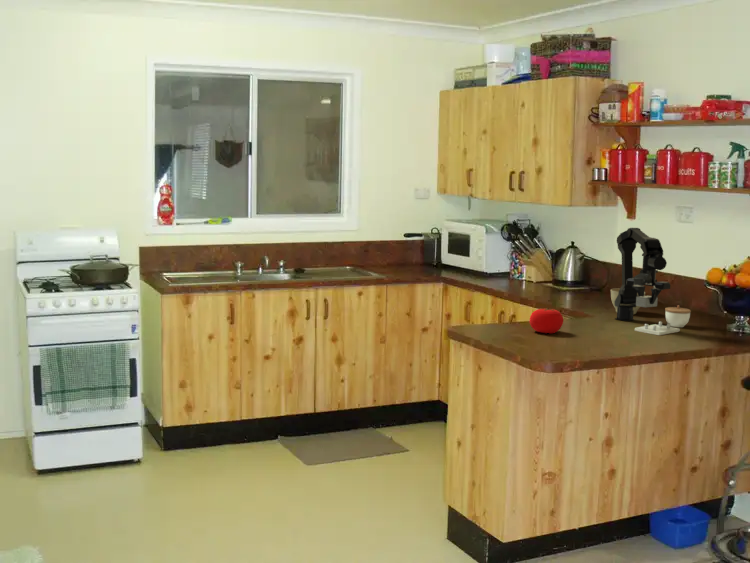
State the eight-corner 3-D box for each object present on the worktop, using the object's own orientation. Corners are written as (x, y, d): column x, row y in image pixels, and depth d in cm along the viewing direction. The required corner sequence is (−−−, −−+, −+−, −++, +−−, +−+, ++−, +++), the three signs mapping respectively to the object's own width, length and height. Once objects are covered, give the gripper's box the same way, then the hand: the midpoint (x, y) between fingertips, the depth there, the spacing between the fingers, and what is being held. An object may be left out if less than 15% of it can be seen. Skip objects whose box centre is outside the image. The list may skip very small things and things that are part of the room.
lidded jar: (673, 328, 403) (674, 307, 402) (659, 324, 413) (661, 303, 412) (694, 328, 406) (695, 307, 404) (680, 323, 416) (681, 303, 415)
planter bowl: (636, 317, 429) (637, 294, 428) (603, 312, 439) (605, 290, 437) (648, 313, 442) (650, 291, 441) (616, 308, 452) (618, 287, 450)
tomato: (536, 335, 375) (538, 310, 374) (523, 329, 388) (525, 305, 386) (568, 335, 379) (570, 310, 378) (554, 329, 392) (556, 305, 390)
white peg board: (634, 330, 395) (635, 323, 394) (655, 326, 405) (655, 319, 405) (659, 335, 386) (659, 327, 385) (679, 331, 396) (680, 324, 396)
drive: (635, 305, 397) (636, 296, 397) (647, 304, 402) (648, 295, 401) (645, 307, 393) (645, 297, 393) (657, 306, 398) (657, 296, 397)
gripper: (620, 266, 398) (617, 301, 399) (657, 270, 383) (654, 307, 385) (635, 265, 405) (632, 300, 407) (672, 269, 390) (669, 305, 392)
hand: (646, 303), depth 397 cm, fingers closed on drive, 5 cm apart
